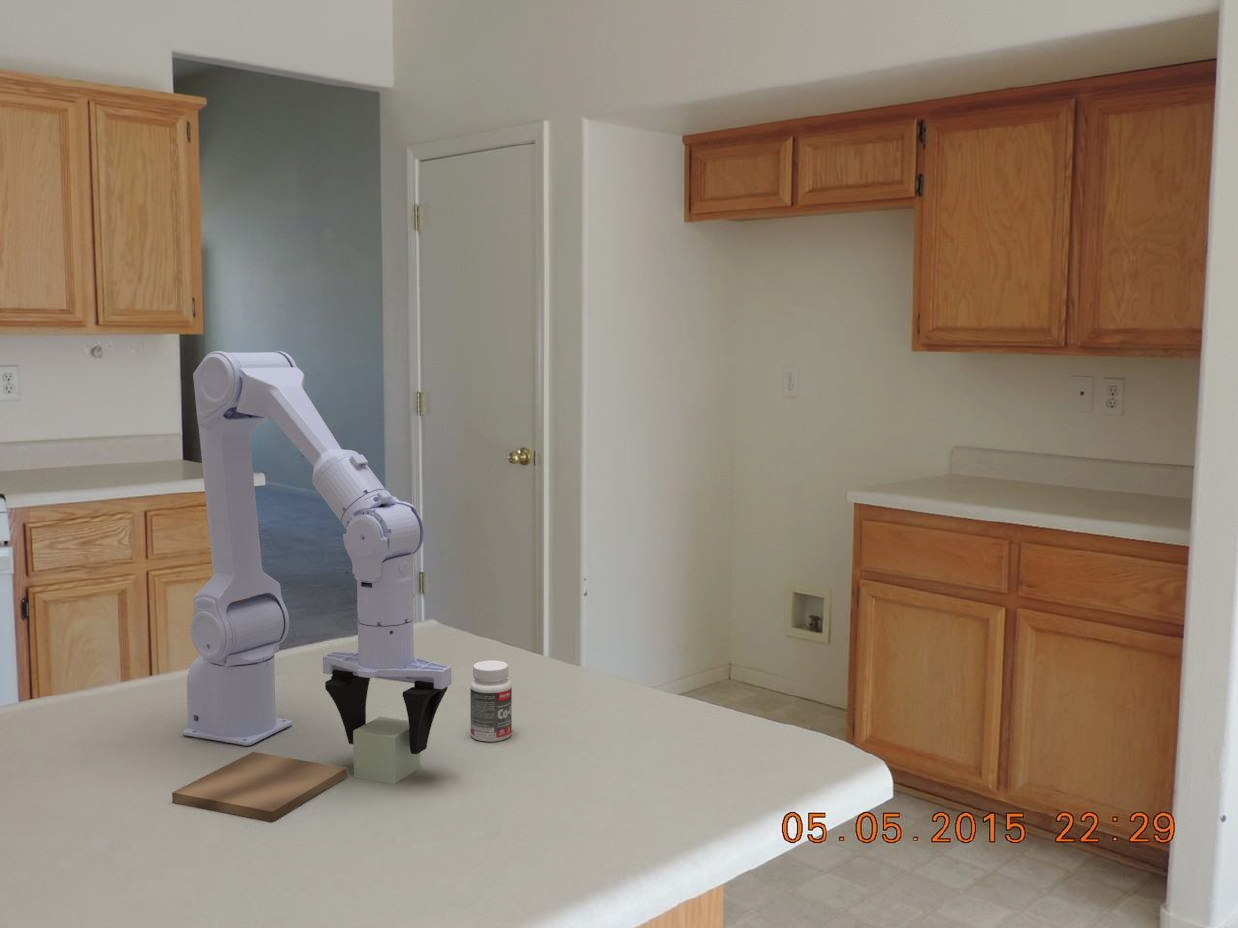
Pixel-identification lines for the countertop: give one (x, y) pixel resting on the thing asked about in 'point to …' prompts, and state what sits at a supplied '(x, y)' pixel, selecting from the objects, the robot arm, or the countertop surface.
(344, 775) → the walnut pad
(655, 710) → the countertop surface
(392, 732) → the sage cube
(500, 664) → the pill bottle
